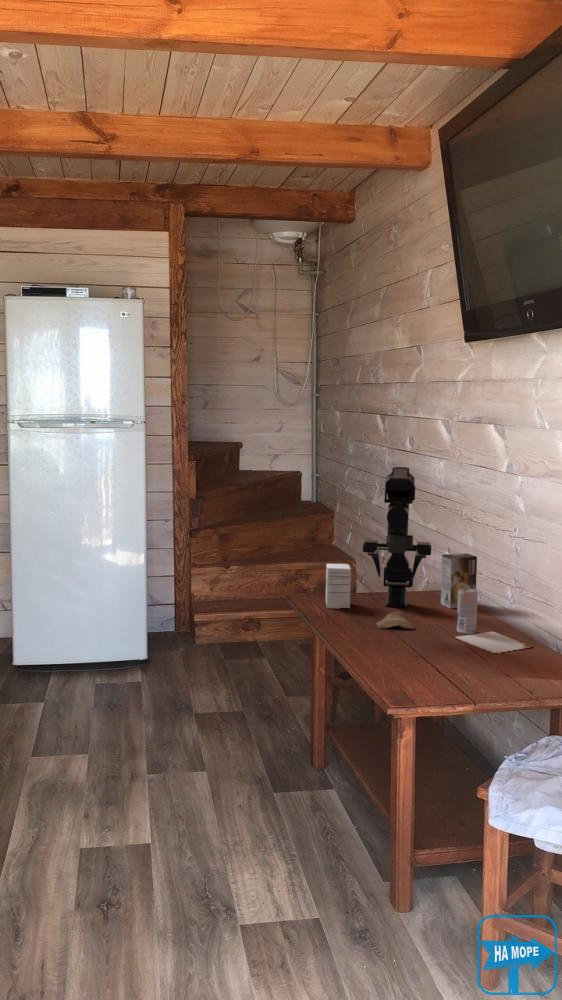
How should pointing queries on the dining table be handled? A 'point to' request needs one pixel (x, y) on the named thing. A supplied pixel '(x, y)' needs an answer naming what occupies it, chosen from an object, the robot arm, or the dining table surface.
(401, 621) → the pottery shard
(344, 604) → the supplement box
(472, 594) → the energy drink
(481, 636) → the white mat
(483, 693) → the dining table surface
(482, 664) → the dining table surface
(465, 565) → the coffee box
